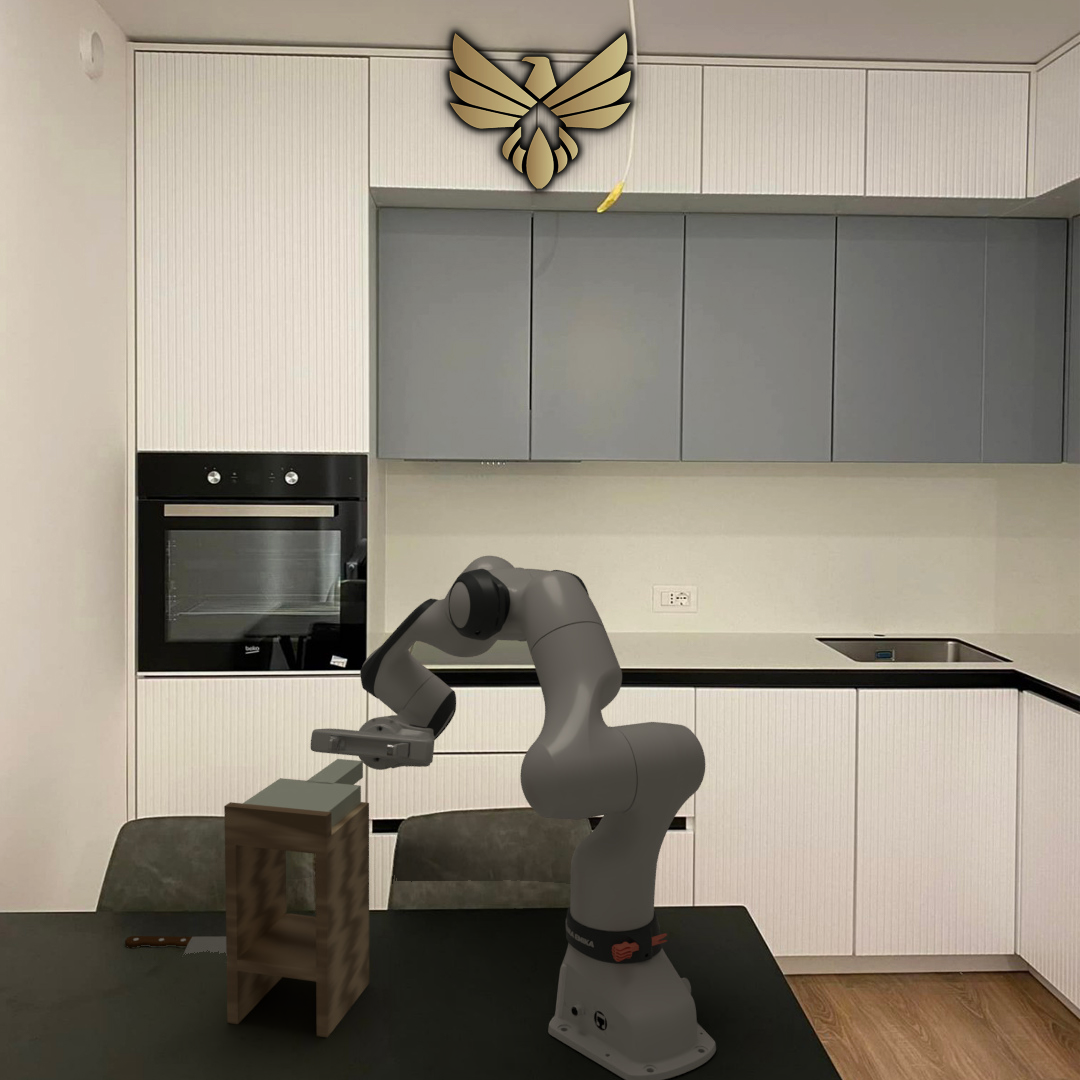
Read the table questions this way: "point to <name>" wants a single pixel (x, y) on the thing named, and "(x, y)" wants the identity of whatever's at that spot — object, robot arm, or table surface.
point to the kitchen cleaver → (181, 943)
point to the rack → (289, 939)
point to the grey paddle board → (318, 791)
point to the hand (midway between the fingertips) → (362, 747)
